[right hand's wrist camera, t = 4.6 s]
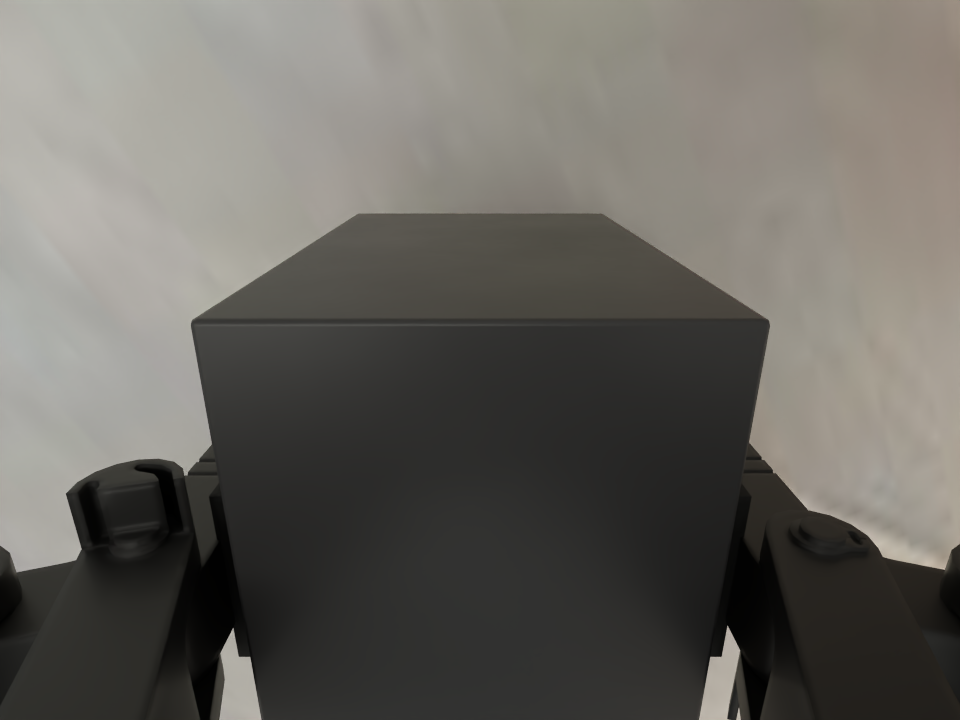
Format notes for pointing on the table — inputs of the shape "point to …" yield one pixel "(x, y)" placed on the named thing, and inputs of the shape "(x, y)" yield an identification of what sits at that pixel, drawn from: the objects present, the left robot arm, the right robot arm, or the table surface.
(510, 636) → the bar
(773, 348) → the table surface
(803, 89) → the table surface
